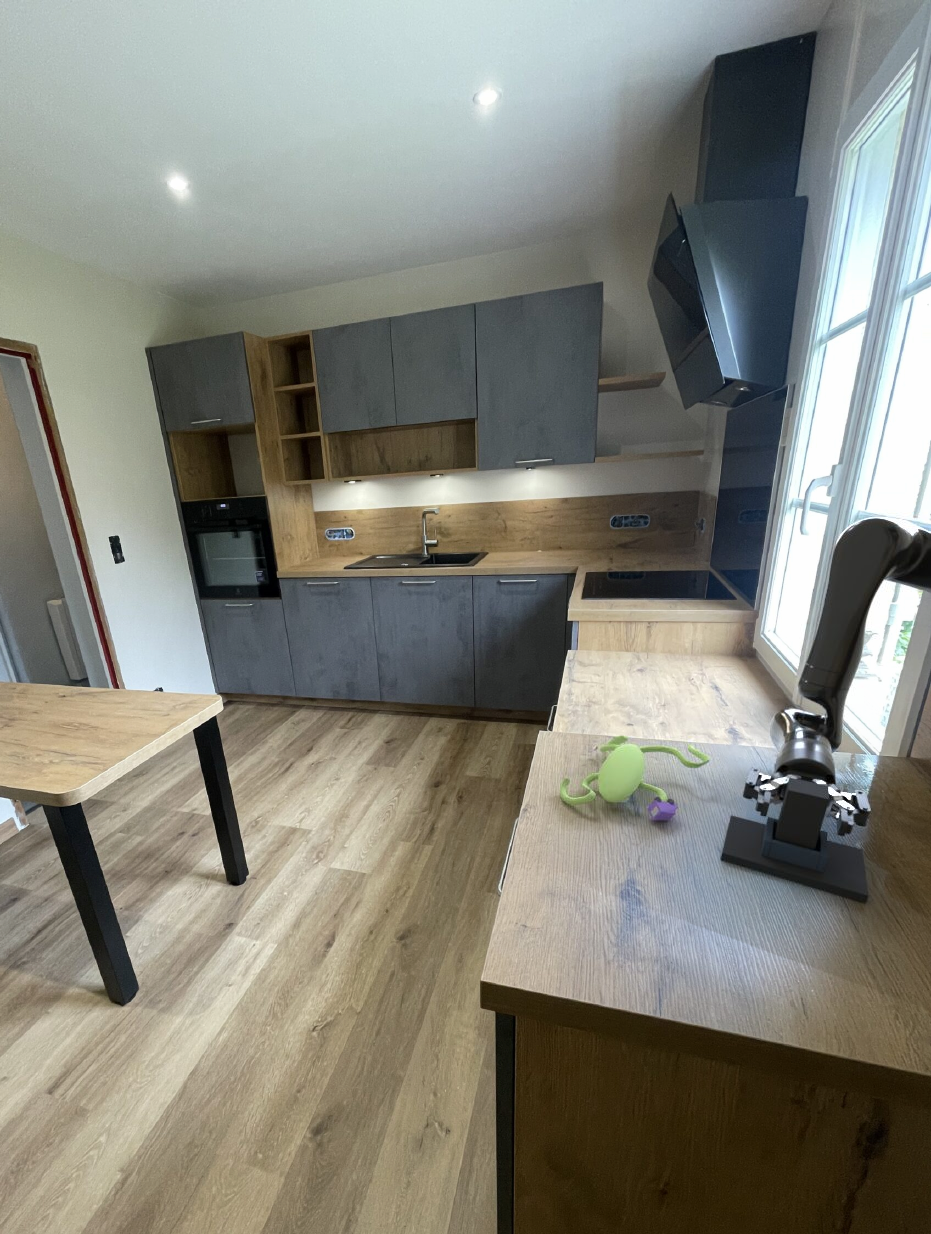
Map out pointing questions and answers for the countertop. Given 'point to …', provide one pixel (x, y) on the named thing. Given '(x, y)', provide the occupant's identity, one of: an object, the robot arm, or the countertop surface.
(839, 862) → the black socket base
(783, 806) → the black rectangular block
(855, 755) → the countertop surface
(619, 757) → the figurine
